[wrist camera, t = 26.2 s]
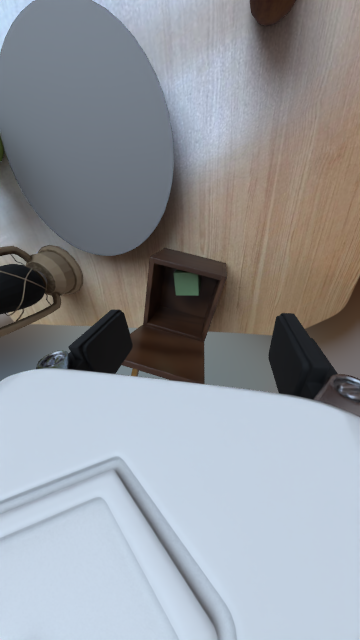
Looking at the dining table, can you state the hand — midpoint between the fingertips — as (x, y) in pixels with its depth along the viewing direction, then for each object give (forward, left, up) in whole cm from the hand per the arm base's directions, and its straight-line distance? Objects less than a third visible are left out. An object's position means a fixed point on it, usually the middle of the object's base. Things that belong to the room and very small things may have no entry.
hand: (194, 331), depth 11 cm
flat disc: (+22, +10, -28) cm, 37 cm away
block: (-2, +7, -27) cm, 28 cm away
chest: (-4, +8, -28) cm, 29 cm away
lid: (-7, +11, -12) cm, 17 cm away
